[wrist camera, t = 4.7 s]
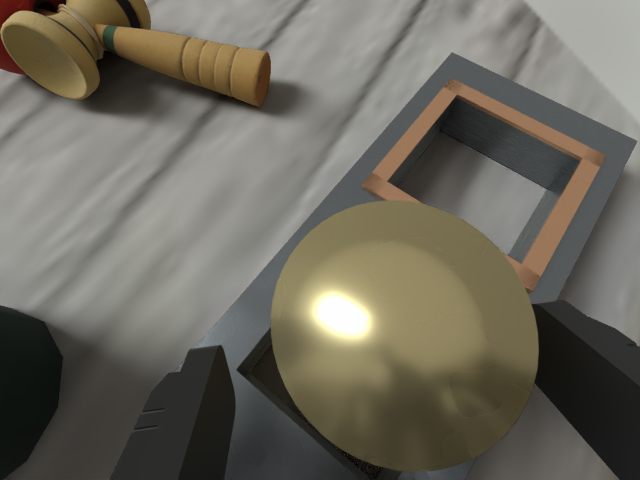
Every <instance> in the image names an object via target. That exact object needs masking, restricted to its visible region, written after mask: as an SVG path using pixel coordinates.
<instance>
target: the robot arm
mask: <svg viewBox="0 0 640 480" xmlns="http://www.w3.org/2000/svg"><path fill="white" fill-rule="evenodd" d="M531 305H532V308H533V311H534V315H535V319H536V325H537V331H538V345H539V355H538V366H537V373H536V377H535V381H534V382H535V384H536V385H537V386H538V387H539V388H540V389H541V390H542V392H543V393H544V394H545V395H546V396H547V397H548V398H549V400H550V401H551V402H552V403H553V404H554V405H555V406H556V408H557V409H558V410H559V411H560V412H561V413H562V414H563V416H564V417H565V418H566V419H567V420H568V421H569V422H570V424H571V425H572V426H573V427H574V428H575V429H576V430H577V432H578V433H579V434H580V435H581V436H582V437H583V438H584V440H585V441H586V442H587V443H588V444H589V445H590V446H591V447H592V449H593V450H594V451H595V452H596V453H597V454H598V455H599V457H600V458H601V459H602V460H603V461H604V462H605V463H606V465H607V466H608V467H609V468H610V469H611V470H612V471H613V473H614V474H615V475H616V476H617V477H618V478H619V479H620V480H640V347H638V346H637V345H636V343H635V342H634V341H632V340H631V339H629V338H628V337H627V336H625V335H624V334H622V333H621V332H619V331H618V330H616V329H615V328H613V327H611V326H608V325H606V324H604V323H601V322H599V321H597V320H595V319H592V318H590V317H587V316H586V315H584V314H583V313H582V312H580V311H579V310H577V309H576V308H575V307H573V306H572V305H570V304H569V303H567V302H565V301H562V300H560V301H552V302H544V303H537V304H531ZM235 411H236V399H235V391H234V387H233V383H232V379H231V375H230V371H229V367H228V363H227V359H226V355H225V352H224V349H223V347H222V346H221V345H216V346H208V347H201V348H193V349H190V350H189V351H188V353H187V356H186V358H185V361H184V363H183V366H182V368H181V370H180V372H173V373H168V375H167V376H166V377H165V378H164V379H163V380H162V381H161V382H160V383H159V384H158V385H157V386H156V387H155V389H154V390H153V391H152V393H151V395H150V397H149V399H148V401H147V403H146V405H145V407H144V409H143V415H140V418H139V420H138V422H137V424H136V426H135V428H134V429H135V431H134V433H132V434H131V436H130V438H129V441H128V443H127V445H126V447H125V449H124V451H123V453H122V455H121V457H120V459H119V461H118V463H117V466H116V468H115V470H114V472H113V474H112V476H111V478H110V480H224V476H225V470H226V465H227V459H228V453H229V448H230V442H231V436H232V431H233V425H234V419H235Z"/></svg>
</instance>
